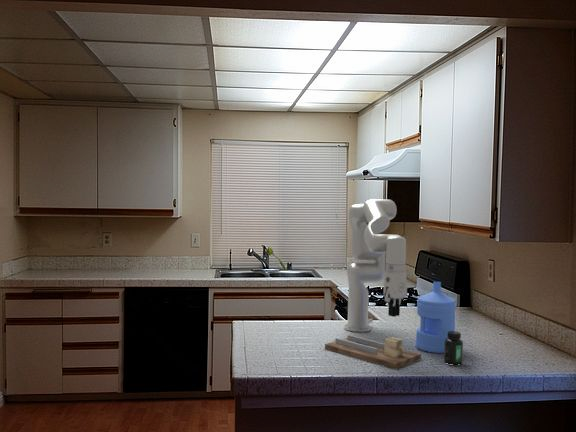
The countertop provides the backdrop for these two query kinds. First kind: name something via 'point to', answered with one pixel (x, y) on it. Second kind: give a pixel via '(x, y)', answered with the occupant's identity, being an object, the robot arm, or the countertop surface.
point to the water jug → (435, 320)
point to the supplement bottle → (453, 348)
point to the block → (393, 347)
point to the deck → (374, 355)
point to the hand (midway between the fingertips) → (393, 315)
